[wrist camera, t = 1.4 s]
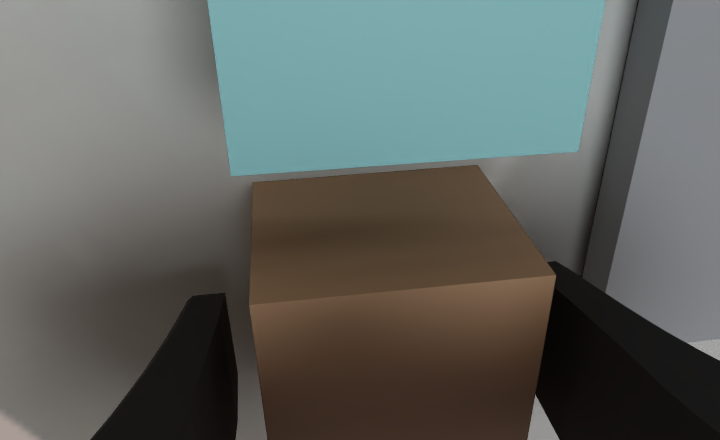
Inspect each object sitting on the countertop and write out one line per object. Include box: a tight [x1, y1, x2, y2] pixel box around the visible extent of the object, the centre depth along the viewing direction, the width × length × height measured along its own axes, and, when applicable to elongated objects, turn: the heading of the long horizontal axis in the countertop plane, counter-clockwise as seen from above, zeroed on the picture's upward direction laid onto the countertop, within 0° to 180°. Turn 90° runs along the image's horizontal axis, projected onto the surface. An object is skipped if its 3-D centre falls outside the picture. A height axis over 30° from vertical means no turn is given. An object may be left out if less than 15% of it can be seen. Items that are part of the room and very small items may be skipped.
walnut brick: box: [249, 165, 556, 440], centre depth 12 cm, size 5×4×4 cm
